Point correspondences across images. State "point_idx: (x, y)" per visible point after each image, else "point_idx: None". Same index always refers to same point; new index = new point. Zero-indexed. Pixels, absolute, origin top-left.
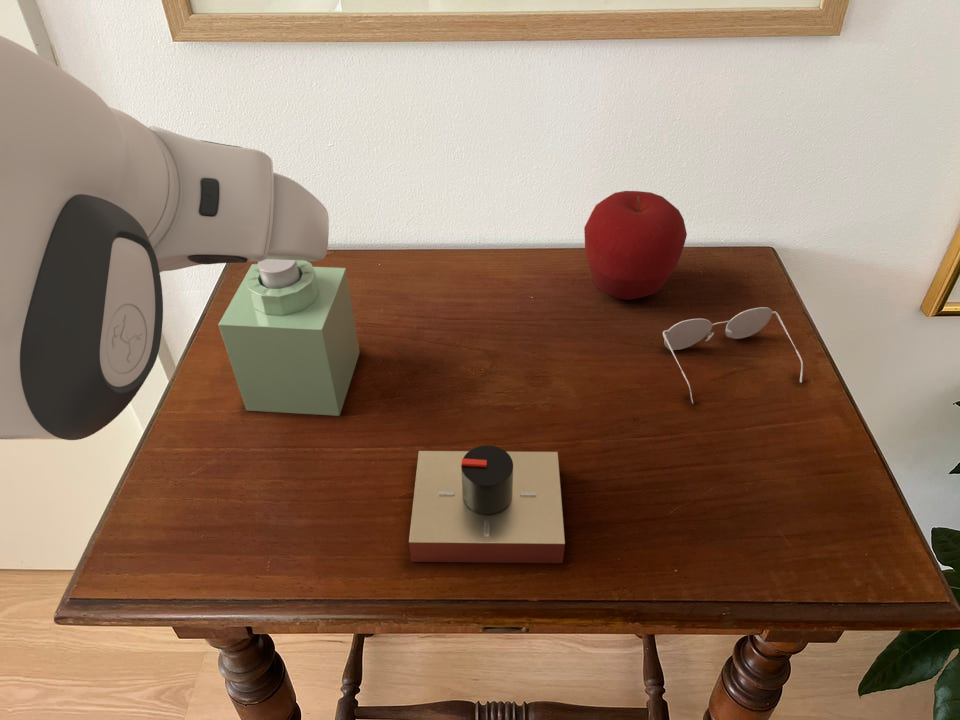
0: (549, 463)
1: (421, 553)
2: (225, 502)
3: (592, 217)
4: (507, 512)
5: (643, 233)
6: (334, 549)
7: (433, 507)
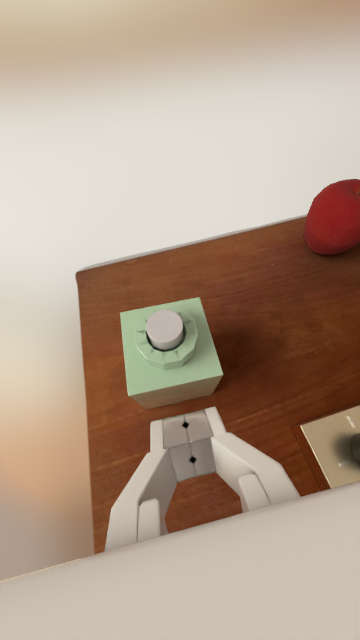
0: None
1: None
2: (175, 504)
3: (328, 206)
4: None
5: None
6: None
7: (344, 480)
